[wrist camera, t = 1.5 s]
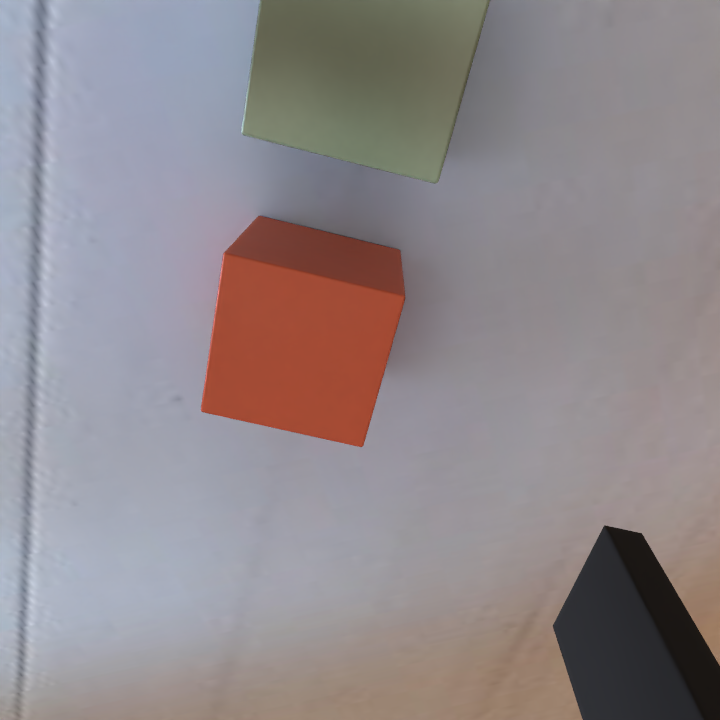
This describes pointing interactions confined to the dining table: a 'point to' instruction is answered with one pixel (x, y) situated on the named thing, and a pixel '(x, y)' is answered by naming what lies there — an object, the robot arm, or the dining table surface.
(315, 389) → the block
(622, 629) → the robot arm
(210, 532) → the dining table surface
